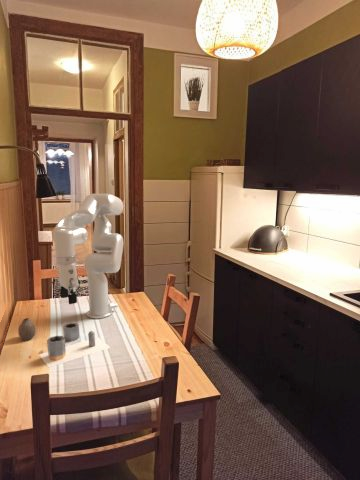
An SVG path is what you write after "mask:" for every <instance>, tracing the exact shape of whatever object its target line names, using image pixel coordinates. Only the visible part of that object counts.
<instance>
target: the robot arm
mask: <svg viewBox="0 0 360 480" xmlns="http://www.w3.org/2000/svg"><path fill="white" fill-rule="evenodd" d="M123 211H124V203H123V201H122V200H121V198H120V197H117V196H115V195H114V194H111V193H91V194H90V193H89V194H88V195H87V196H86V197H85V199H83V200H82V202H81V204H80V206H79V207H78V209H77V210H75V211H73V212H71V213H70V214H68V215H66V216H64V217H62V218H61V219H60V220H59V221H58V223H56V225H55V227H54V229H53V230H52V239H53V242H54V247H55V262H56V263H55V264H56V265H57V267H58V268H57V269H58V270H57V272H58V274H57V276H58V282H59V290H60V291H59V292H60V298H61V299H64V298H68V305H72V304H73V305H74V304H77V303H78V296H77V293H78V291H77V288H78V286H79V283H78V282H79V281H78V273H77V266H76V263H77V262H76V260H77V259H76V246H80V245H83V244H85V243H86V242H87V240H88V238H89V235H88V234H89V233H88V230H87V229H86V228H85V227H84V226H87V225H91V224H92V223H93V222H94V228H93V234H92V239H91V248H92V250H93V251H95V252H92V253H88V254H87V255H86V256H85V257H84V267H85V271H86V275H87V277H86V278H87V288H88V302H89V303H88V307H89V310H88V311H87V312H86V316H87V317H88V318H90V319H95V320H96V319H98V320H99V319H104V318H108V317H109V316H111V315H112V314H113V311H112V310H113V309H115V308H118V303H109V285H108V278H107V276H106V275H105V273H107V274H111V273H112V274H115V273H118V272H119V270H120V269H121V264H122V260H123V259H122V258H123V257H122V256H123V253H124V238H123V236H122V235H121V233H120V234H119V233H115V232H112V223H111V222H110V219H108V218H107V216H120V215H122V213H123Z"/></svg>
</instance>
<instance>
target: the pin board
mask: <svg viewBox="0 0 360 480" xmlns="http://www.w3.org/2000/svg"><path fill="white" fill-rule="evenodd" d="M95 335H96V334H95V332H94V331H93V330H90V331H88V339H87V340H82V341H79V342H76V343H73V344H70V345H67V346H66V345H65V350H66V356H65V357H64V358H63V359H60V360H57V361H54V360H50V359H49V358H48V351H46V352H43V353H39V354H38V355H39V357H40V358H41V359H42V360H43V362H44V363H45V365H46V366H47V368H51V367H55V366H58V365H62V364H65V363H66V362H71V361H73V360H77V359H80V358H83V357H86V356H89V355H92V354H95V353H98V352H101V351H104V350H107V349H110V348H111V347H110V346H109V345H108V344H107V343H106V342H104V341H103V340H102V339H101V338H100V337H98V336H95ZM55 342H56V341H55Z"/></svg>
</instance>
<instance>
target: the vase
mask: <svg viewBox="0 0 360 480" xmlns="http://www.w3.org/2000/svg"><path fill="white" fill-rule="evenodd" d="M36 329H37V328H36V325H35V324H34V322H33V321H31V319H30V318H27V317H26V318H23V319H22V321H21V323H20V324H19V326H18V330H17V332H18V336H19V337H20V339H21V340H23V341H30V340H32V339H33V338H34V337H35V335H36V332H37V330H36Z"/></svg>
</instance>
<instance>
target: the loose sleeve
mask: <svg viewBox="0 0 360 480" xmlns="http://www.w3.org/2000/svg"><path fill="white" fill-rule="evenodd" d="M62 331H63V337H64V338H65V342H74V341H76V340H78V339H79V338H80V326H79V324H78V322H70V323H69V322H68V323H66V324H64V325H63V326H62Z"/></svg>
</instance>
